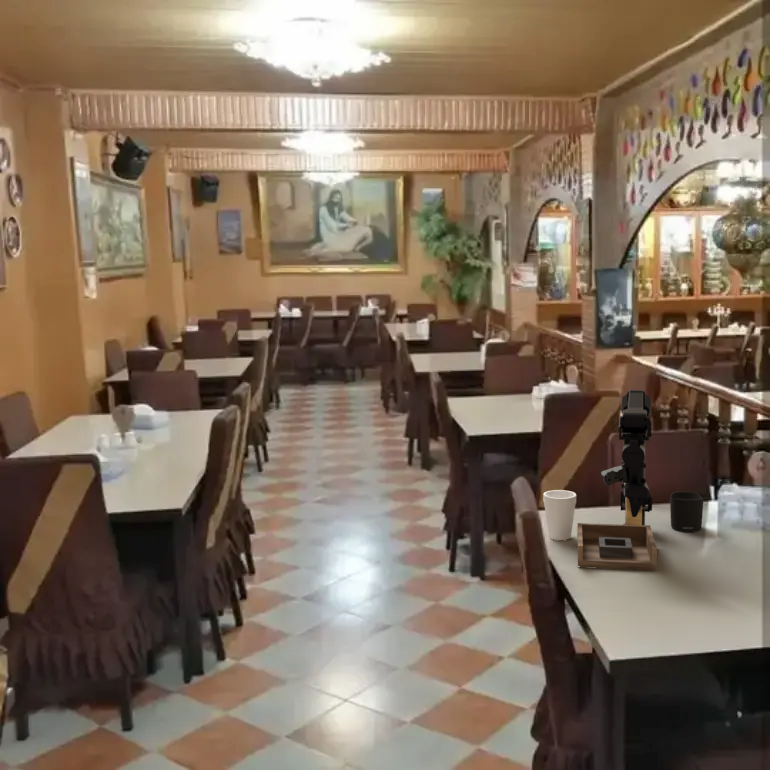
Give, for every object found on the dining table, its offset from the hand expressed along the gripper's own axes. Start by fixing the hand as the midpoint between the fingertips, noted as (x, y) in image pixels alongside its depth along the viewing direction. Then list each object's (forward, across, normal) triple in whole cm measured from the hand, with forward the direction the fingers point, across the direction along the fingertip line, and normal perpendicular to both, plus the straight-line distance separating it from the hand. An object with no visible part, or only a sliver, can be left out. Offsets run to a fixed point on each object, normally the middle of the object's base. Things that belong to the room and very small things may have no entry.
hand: (633, 514), depth 240 cm
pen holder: (+12, -27, +18) cm, 35 cm away
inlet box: (+12, 0, -5) cm, 13 cm away
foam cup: (+12, -16, -19) cm, 28 cm away
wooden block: (+2, 0, 0) cm, 3 cm away
